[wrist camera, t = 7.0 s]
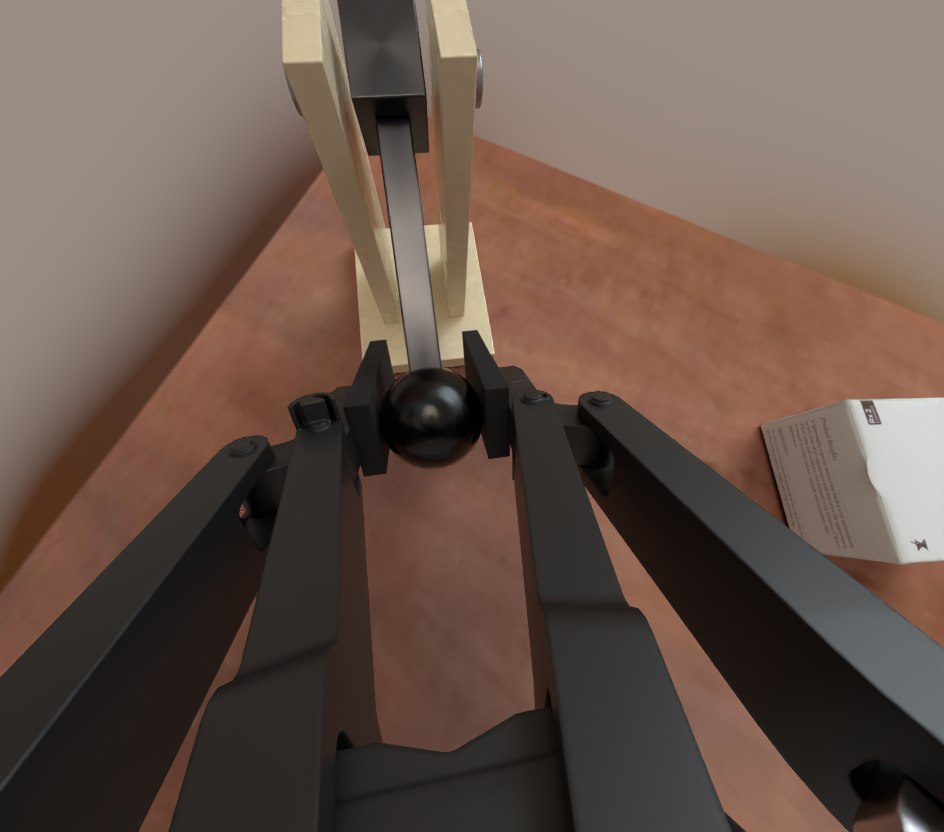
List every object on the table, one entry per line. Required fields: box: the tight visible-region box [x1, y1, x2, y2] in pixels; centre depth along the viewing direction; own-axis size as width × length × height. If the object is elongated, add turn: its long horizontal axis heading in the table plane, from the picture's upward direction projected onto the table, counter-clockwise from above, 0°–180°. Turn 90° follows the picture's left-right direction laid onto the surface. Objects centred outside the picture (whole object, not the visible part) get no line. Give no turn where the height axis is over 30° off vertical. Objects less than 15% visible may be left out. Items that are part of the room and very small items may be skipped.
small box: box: [761, 398, 944, 565], centre depth 18 cm, size 8×8×5 cm
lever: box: [337, 0, 483, 469], centre depth 11 cm, size 14×4×4 cm, turn 8°
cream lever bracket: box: [282, 0, 495, 373], centre depth 16 cm, size 10×8×14 cm
